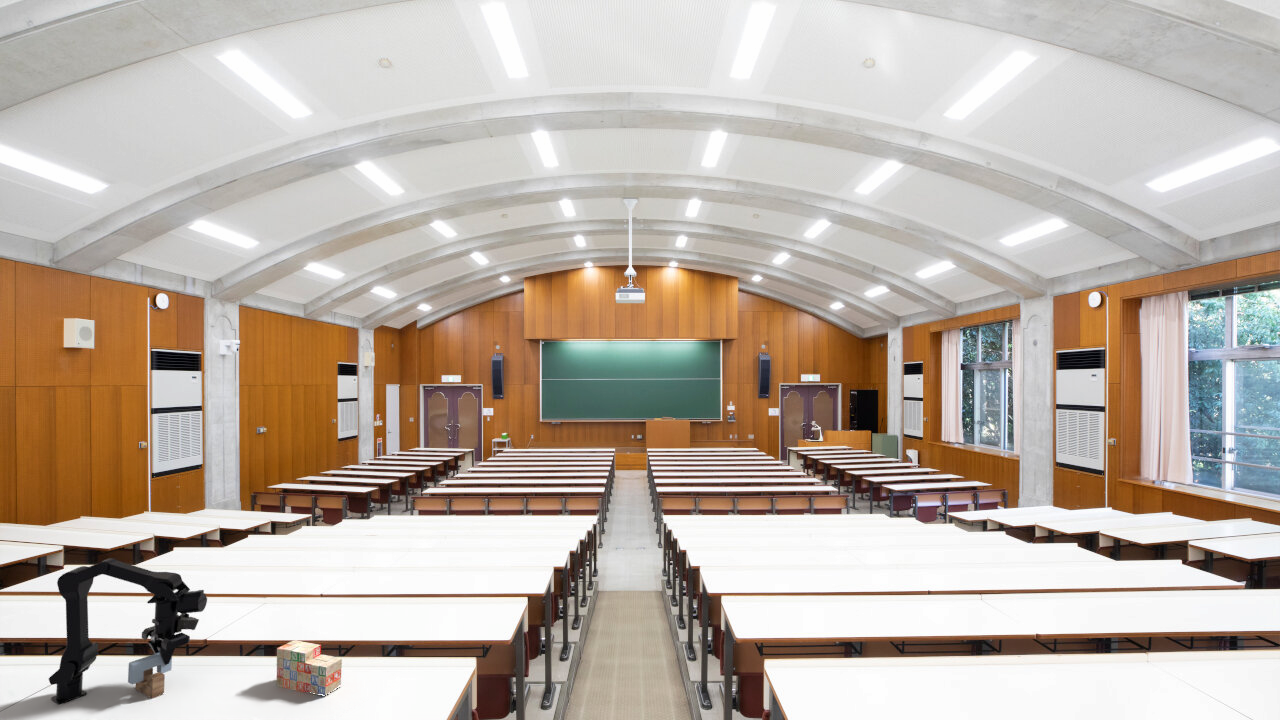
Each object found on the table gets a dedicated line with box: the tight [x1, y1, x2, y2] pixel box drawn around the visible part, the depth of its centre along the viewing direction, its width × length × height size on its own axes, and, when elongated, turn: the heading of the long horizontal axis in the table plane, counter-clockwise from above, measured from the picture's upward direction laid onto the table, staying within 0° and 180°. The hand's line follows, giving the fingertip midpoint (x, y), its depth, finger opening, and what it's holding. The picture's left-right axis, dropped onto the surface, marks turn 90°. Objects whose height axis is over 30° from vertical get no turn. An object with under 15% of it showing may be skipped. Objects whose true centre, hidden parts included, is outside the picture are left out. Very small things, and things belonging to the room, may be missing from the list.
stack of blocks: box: [276, 639, 343, 695], centre depth 178 cm, size 21×6×12 cm, turn 71°
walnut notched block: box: [134, 667, 166, 699], centre depth 176 cm, size 12×3×6 cm, turn 62°
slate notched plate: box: [127, 653, 173, 686], centre depth 176 cm, size 10×3×6 cm, turn 152°
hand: (164, 663), depth 179 cm, fingers closed on slate notched plate, 3 cm apart
